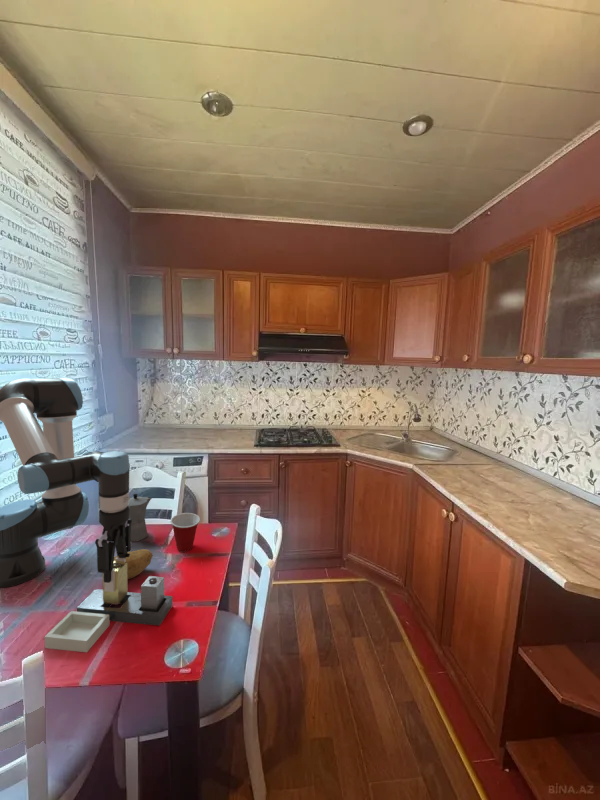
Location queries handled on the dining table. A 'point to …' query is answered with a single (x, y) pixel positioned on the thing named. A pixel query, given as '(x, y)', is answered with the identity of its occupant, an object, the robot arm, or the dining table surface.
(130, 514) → the coffeepot
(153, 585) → the square rod with stud
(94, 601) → the rail
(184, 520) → the plastic cup
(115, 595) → the block with metal knob
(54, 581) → the dining table surface
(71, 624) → the parts tray
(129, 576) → the potato
